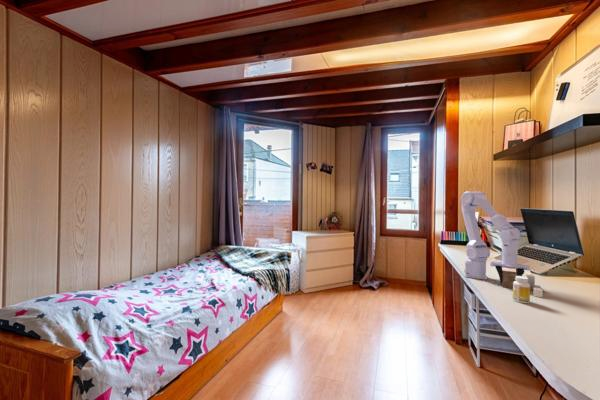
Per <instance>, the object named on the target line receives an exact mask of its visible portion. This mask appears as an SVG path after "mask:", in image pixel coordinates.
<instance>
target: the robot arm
mask: <svg viewBox="0 0 600 400" xmlns="http://www.w3.org/2000/svg"><path fill="white" fill-rule="evenodd" d="M460 201H461V207H460V208H461V213H462V217H463V220H464V221H463V222H464V226H465V229H466V233H467V237H468V242H467V244H466V246H465V247H466V252H465V254H466V257H468V258H465V263H464V264H465V265H464V266H465V267H464V271H463V272H464V277H465V278H471V279H480V280H485V281H487V280H488V277H487V260H488V258H489V257H490V255H491V252H490V249H489V248H488V246H487V243H486V242H485V241H483V240H482V237H481V232H480V228H479V223H478V220H477V217H476V213H475V210H476V209H477V208H478V207H480V208H481V209H482V210H483V211H484V213H486V214H487V216H488V217H489V218H490V222H491V224H492V225H493V226H494V228H495V229H496V230H497V231H498V232H499V234H498V235H499V238H500V240H501V244H502V245H501V247H502V248H501V250H502V251H501V261H492V260H491V261H490V267H495V269H496V271H497V274H498V277H499V282H500V284H501V283H502V271H504V270H503V268H506V269H515V272H516V274H517V276H524V274H525V271H529V272H530V271H531V266H530V265H529V264H521V263H518V253H519V240H520V239H521V237H522V232H521V231H520V229H519V228H517V227H514V226H513V225H512V224H511V223H510V222H509V221H508V219H507V217H506V216H505V215H503V214H499V213H498V212H497V211H496V209H495V208H494V206H493V205H492V204H491V202H490V201H489V200H488V196H487V195H486V194H485V193H484V192H483V191H480V190H479V191H468V190H467V191H465V192H463V194H462V195H461V196H460Z"/></svg>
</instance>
